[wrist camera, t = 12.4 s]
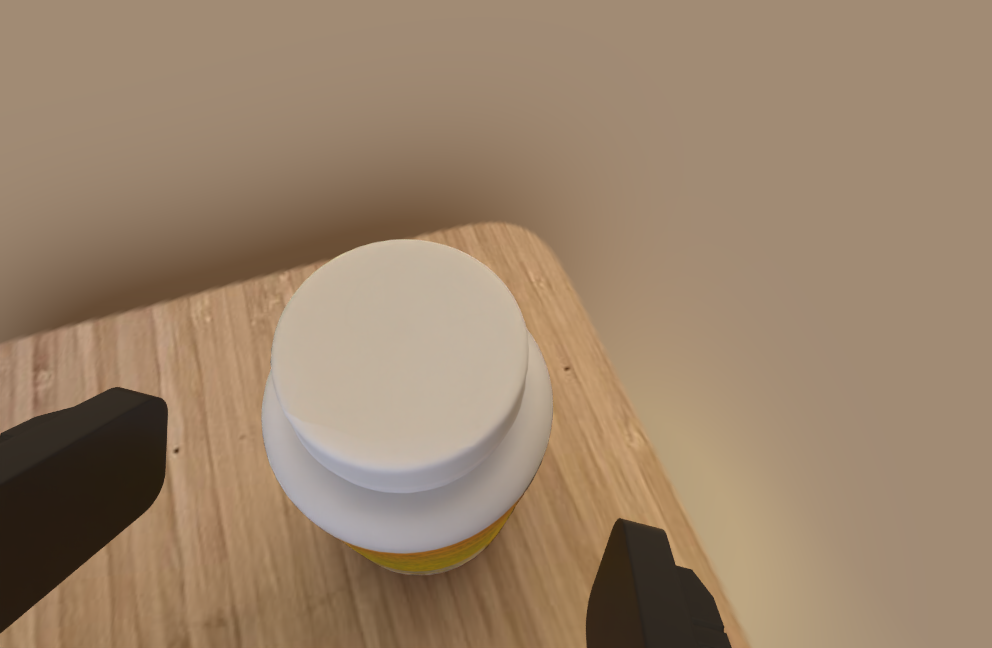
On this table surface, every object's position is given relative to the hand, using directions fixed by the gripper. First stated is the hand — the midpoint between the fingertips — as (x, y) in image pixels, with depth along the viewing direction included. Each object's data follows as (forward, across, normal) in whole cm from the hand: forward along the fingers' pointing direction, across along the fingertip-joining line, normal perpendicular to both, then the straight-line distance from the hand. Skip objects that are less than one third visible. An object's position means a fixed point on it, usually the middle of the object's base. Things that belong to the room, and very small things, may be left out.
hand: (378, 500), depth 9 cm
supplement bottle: (+7, 0, +4) cm, 8 cm away
